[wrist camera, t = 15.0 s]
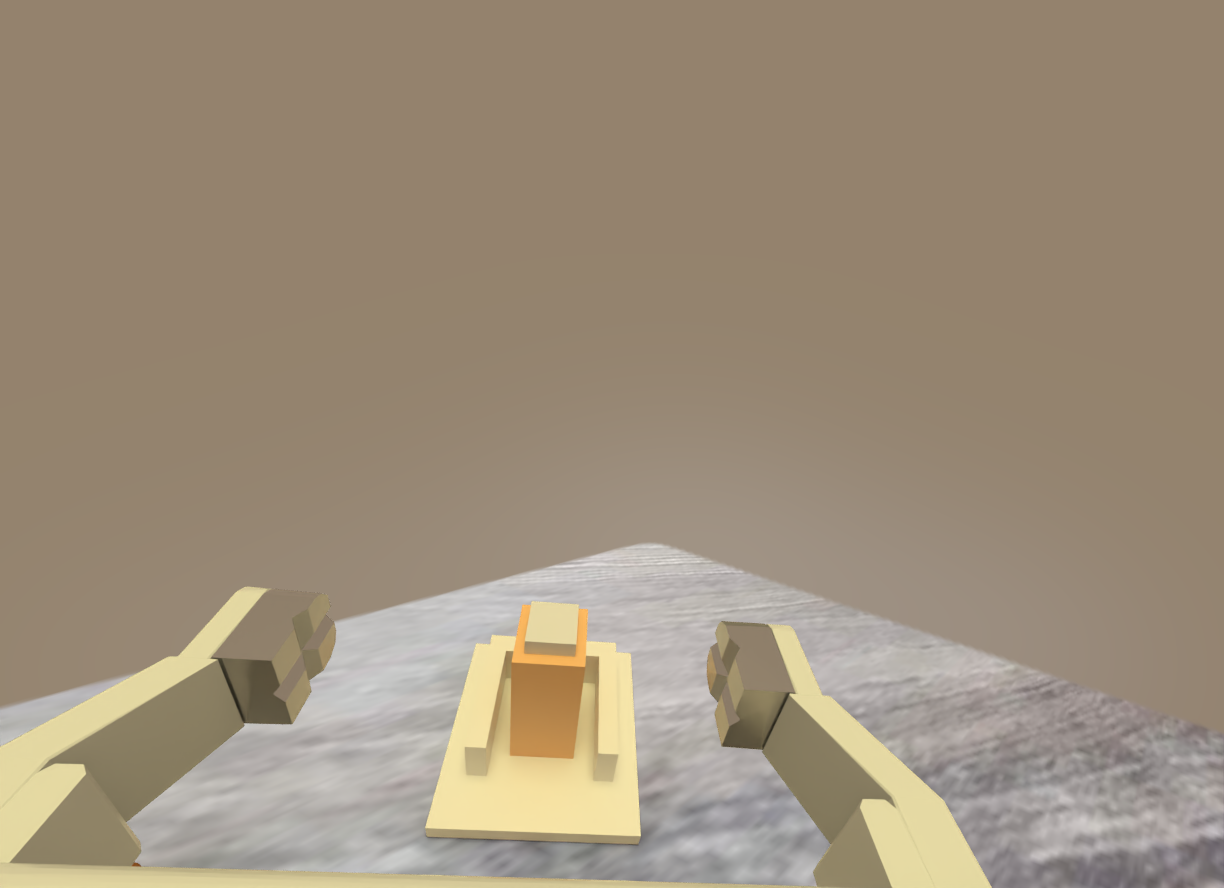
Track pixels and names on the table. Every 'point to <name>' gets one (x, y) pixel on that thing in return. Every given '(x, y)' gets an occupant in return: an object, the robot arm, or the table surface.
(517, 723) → the block
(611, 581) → the table surface
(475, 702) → the holder
